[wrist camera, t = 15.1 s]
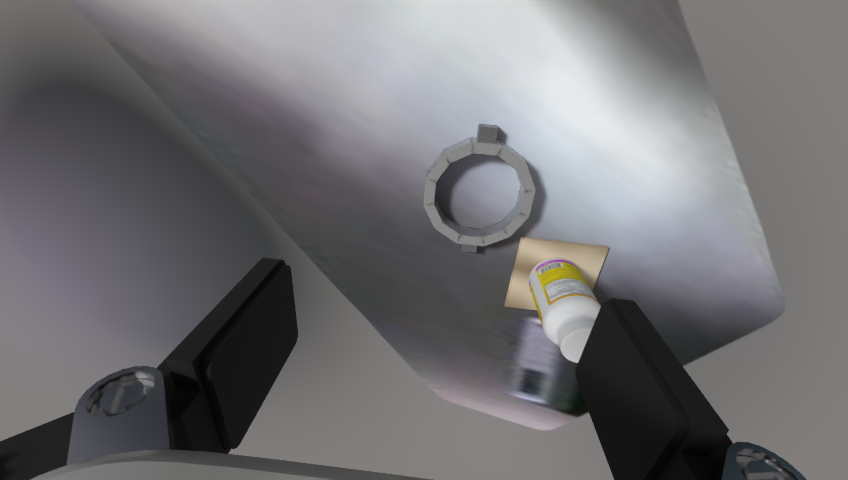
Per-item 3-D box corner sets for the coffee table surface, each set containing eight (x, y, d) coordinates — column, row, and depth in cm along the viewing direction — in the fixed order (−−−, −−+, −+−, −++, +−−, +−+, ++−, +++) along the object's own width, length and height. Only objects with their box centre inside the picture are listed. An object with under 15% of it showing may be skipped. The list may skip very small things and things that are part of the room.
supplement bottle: (561, 303, 48) (594, 378, 37) (518, 287, 48) (538, 358, 36) (589, 265, 45) (634, 335, 34) (543, 247, 45) (574, 312, 33)
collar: (432, 119, 39) (430, 122, 37) (544, 130, 38) (549, 134, 36) (421, 240, 46) (419, 249, 44) (515, 251, 46) (518, 261, 43)
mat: (521, 236, 45) (521, 238, 44) (607, 246, 44) (608, 247, 44) (504, 304, 50) (504, 306, 49) (581, 313, 49) (582, 315, 49)
